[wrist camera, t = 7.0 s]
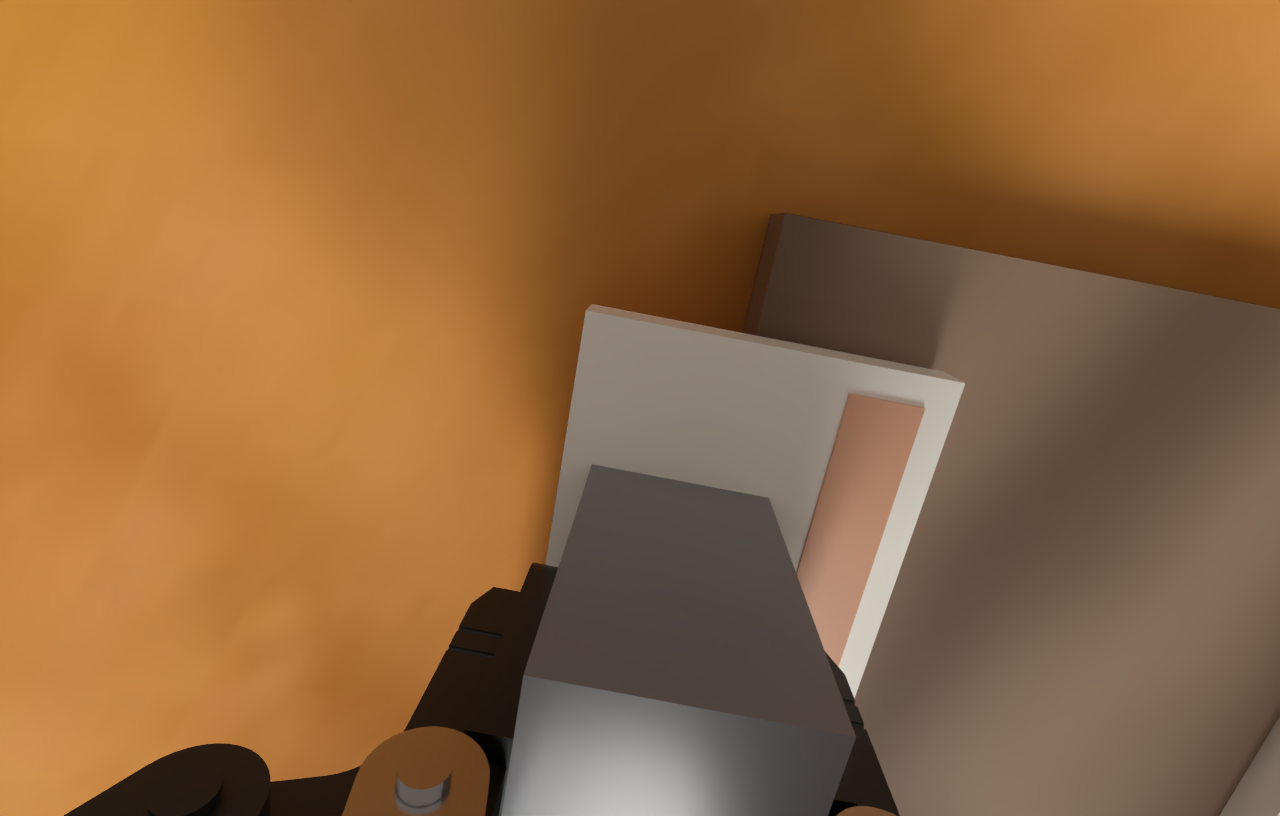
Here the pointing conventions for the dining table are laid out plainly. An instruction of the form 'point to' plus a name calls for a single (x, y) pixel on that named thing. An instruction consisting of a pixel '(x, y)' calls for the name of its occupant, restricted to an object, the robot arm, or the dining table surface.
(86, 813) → the robot arm
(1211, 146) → the dining table surface
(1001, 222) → the dining table surface
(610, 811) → the stub
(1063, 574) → the ticket holder
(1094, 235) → the dining table surface
